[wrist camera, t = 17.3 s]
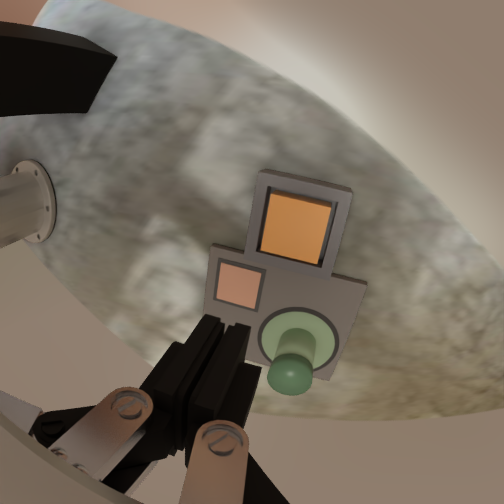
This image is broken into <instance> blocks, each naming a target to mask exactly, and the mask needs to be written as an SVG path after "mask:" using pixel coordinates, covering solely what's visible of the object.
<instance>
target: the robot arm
mask: <svg viewBox="0 0 504 504" xmlns="http://www.w3.org/2000/svg"><path fill="white" fill-rule="evenodd" d="M55 215H56V205H55V196H54V192H53V188H52V185H51V181H50V179H49V177H48V175H47V173H46V172H45V170H44V168H43V167H42V166H41V165H40V164H39V163H37V162H36V161H33V160H25V161H21V162H20V163H18V164H17V165H16V166H15V167H14V169H13V171H12V173H11V174H10V175H6V176H2V177H0V249H1V248H3V247H5V246H7V245H9V244H12V243H14V242H16V241H18V240H21V239H23V238H25V239H26V240H27V241H29V242H31V243H39V242H42V241H44V240H45V239H47V238H48V237H49V235H50V234H51V232H52V229H53V226H54V222H55ZM224 331H225V323H222V322H221V318H219V317H216V316H212V315H209V314H205V315H204V316H203V317H202V319H201V320H200V322H199V323H198V325H197V326H196V328H195V329H194V330H193V332H192V333H191V335H190V336H189V338H188V339H187V341H186V342H185V343H184V344H182V343H179V342H176V341H175V342H173V343H172V344H171V346H170V347H169V348H168V350H167V351H166V352H165V354H164V355H163V356H162V358H161V359H160V360H159V362H158V363H157V364H156V366H155V367H154V369H153V370H152V371H151V373H150V374H149V375H148V377H147V378H146V379H145V381H144V382H143V383H142V385H141V386H140V388H139V389H138V388H134V387H122V388H118V389H115V390H114V391H112V392H111V393H110V394H108V395H107V396H106V397H105V398H104V399H103V400H102V401H101V402H100V403H98V404H97V405H95V406H89V407H81V408H74V409H66V410H57V411H50V412H46V413H45V412H43V411H42V409H41V408H39V407H36V406H34V405H32V404H30V403H27V402H25V401H22V400H20V399H18V398H16V397H14V396H12V395H10V394H8V393H5V392H3V391H0V504H143V503H141V502H139V501H137V500H134V499H132V498H130V496H131V495H132V494H133V492H134V491H135V490H136V489H137V488H138V487H139V485H140V484H141V483H142V481H144V479H145V478H146V477H147V475H148V474H149V473H150V472H151V471H152V470H153V468H154V467H155V466H156V464H157V463H158V460H160V459H164V458H167V456H168V454H169V455H172V456H175V454H176V452H177V450H181V451H183V449H184V448H185V465H186V467H187V473H186V476H185V481H184V484H183V488H182V492H181V496H180V500H179V504H290V503H289V502H288V501H287V500H286V499H285V497H284V496H283V495H282V494H281V493H280V491H279V490H278V489H277V488H276V487H275V485H274V484H273V483H272V482H271V480H270V479H269V478H268V477H267V475H266V474H265V473H264V472H263V470H262V469H261V468H260V466H259V465H258V464H257V462H256V461H255V460H254V459H253V457H252V456H251V455H250V453H249V452H248V450H249V439H248V436H247V434H246V432H245V431H244V430H243V429H244V426H245V422H246V420H247V417H248V413H249V410H250V407H251V404H252V401H253V398H254V395H255V391H256V388H257V384H258V381H259V377H260V373H261V369H262V367H259V366H255V365H252V364H248V363H244V361H245V356H246V351H247V346H248V341H249V337H250V332H251V326H248V325H244V324H241V323H237V322H236V323H235V325H234V326H233V325H229V326H228V327H227V329H226V331H225V333H224Z"/></svg>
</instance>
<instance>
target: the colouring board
mask: <svg viewBox="0 0 504 504" xmlns="http://www.w3.org/2000/svg"><path fill="white" fill-rule="evenodd" d="M243 257H244V251H241V250H237V249H233V248H229V247H225V246H221V245H217V244H212V245H211V246H210V254H209V262H208V271H207V280H206V289H205V299H204V309H203V316H204V315H205V314H209V315H212V316H216V317H219V318H221V322H222V323H225V331H226V329H227V327H228V326H229V325H233V326H234V325H235V323H236V322H237V323H241V324H244V325H248V326H251V332H250V337H249V341H248V346H247V351H246V356H245V360H249V361H252V362H256V363H259V364H263V365H266V366H270V365H271V363H272V361H273V359H274V356H275V353H276V350H277V347H278V343H279V340H280V337H281V335H282V334H283V333H284V332H285V331H287V330H289V329H292V328H301V329H305V330H307V331H309V332H310V333H311V334H312V335H313V336H314V338H315V340H316V349H315V357H314V364H313V377H314V378H318V379H322V380H327V381H329V380H330V378H331V376H332V374H333V372H334V369H335V367H336V365H337V362H338V360H339V358H340V355H341V353H342V351H343V348H344V346H345V344H346V341H347V339H348V336H349V334H350V331H351V329H352V326H353V324H354V321H355V319H356V316H357V313H358V311H359V308H360V305H361V303H362V300H363V297H364V294H365V291H366V289H367V286H368V285H367V282H364V281H360V280H356V279H352V278H348V277H344V276H340V275H336V274H331V278H330V281H328V280H324V279H320V278H316V277H312V276H308V275H304V274H300V273H296V272H292V271H288V270H284V269H280V268H276V267H272V266H268V265H264V264H260V263H256V262H252V261H249V260H245V259H243ZM225 331H224V333H225Z"/></svg>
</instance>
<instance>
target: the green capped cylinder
mask: <svg viewBox="0 0 504 504" xmlns="http://www.w3.org/2000/svg"><path fill="white" fill-rule="evenodd" d="M315 349H316V340H315V338H314V336H313V335H312V334H311V333H310V332H309V331H307V330H305V329H301V328H292V329H289V330H287V331H285V332H284V333H283V334H282V335H281V337H280V340H279V343H278V347H277V350H276V353H275V356H274V359H273V361H272V363H271V365H270V369H269V372H268V375H267V380H268V383H269V385H270V386H271V387H272V388H273V389H274V390H275V391H277V392H279V393H281V394H284V395H299V394H302V393H304V392H306V391H307V390H308V389H309V388H310V386H311V384H312V378H313V364H314V357H315Z"/></svg>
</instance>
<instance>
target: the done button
mask: <svg viewBox="0 0 504 504" xmlns="http://www.w3.org/2000/svg"><path fill="white" fill-rule="evenodd" d="M330 211H331V202H327V201H323V200H319V199H315V198H311V197H306V196H302V195H298V194H293V193H289V192H284V191H280V190H275V191H274V192H273V193H271V196H270V202H269V207H268V212H267V218H266V223H265V229H264V234H263V239H262V245H261V250H262V251H266V252H270V253H274V254H278V255H282V256H286V257H290V258H294V259H298V260H302V261H306V262H310V263H314V264H317V263H318V259H319V255H320V251H321V247H322V243H323V239H324V235H325V231H326V227H327V223H328V219H329V215H330Z"/></svg>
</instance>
